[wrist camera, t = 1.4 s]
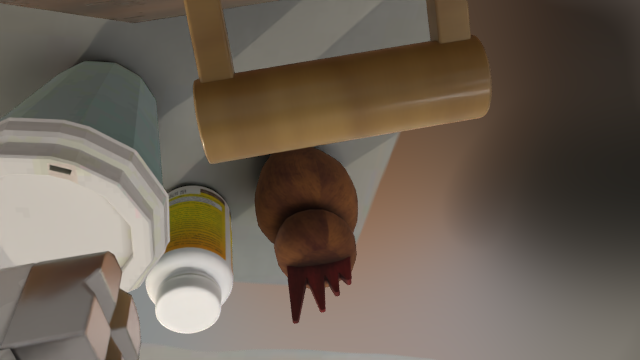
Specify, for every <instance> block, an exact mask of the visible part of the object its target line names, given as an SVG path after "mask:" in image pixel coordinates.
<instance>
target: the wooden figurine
mask: <svg viewBox="0 0 640 360" xmlns="http://www.w3.org/2000/svg"><path fill="white" fill-rule="evenodd" d="M255 210H256V216H257V222H258V226H259V227H260V229H261V231H262V232H263V233H264V234H265V236H266V237H267V238H268V239H269V240H270V241H271V242H272V243H274V249H275V253H276V257H277V261H278V265H279V267H280V268H281V270H282V271H283V272H284V274H285V275H286V276H287V277H288V285H289V293H290V302H291V311H292V319H293V323H294V324H295V323H298V322H299V319H300V314H301V309H302V303H303V299H304V294H305V289H306V288H310V289H311V291H312V294H313V296H314V298H315V301H316V303H317V305H318V307H319V310H320V312H325V287H329V286H330V288H331V290H332V292H333V293H334V295H335V296H339V295H340V291H339V281H340V280H343V281H344V282H345V283H346V284H347V285H350V284H351V278H352V276H351V271H352V269H353V266H354V263H355V260H356V255H357V254H356V244H355V238H354V235H353V232H354V229H355V226H356V223H357V217H358V200H357V194H356V190H355V187H354V185H353V182H352V180H351V179H350V177H349V175H348V173H347V171H346V169H345V168H344V167H343V166H342V165H341V163H340V162H338V161H337V160H336V159H334V158H333V157H331V156H329V155H327V154H326V153H324V152H322V151H321V150H319V149H316V148H313V147H308V148H302V149H296V150H290V151H285V152H279V153H273V154H272V155H271V156H270V157H269V159H268V160H267V162H266V163H265V164H264V166H263V168H262V170H261V173H260V177H259V180H258V184H257V188H256V193H255Z"/></svg>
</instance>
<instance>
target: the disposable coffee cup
mask: <svg viewBox="0 0 640 360" xmlns="http://www.w3.org/2000/svg"><path fill="white" fill-rule="evenodd" d="M169 242H170V224H169V195H168V193H167V192H166V191H165V189H164V188H163V183H162V170H161V157H160V144H159V131H158V118H157V105H156V99H155V98H154V96H153V95H152V93H151V92H150V90H149V89H148V87H147V86H146V84H145V83H144V81H143V80H142V78H141V77H139V76H138V75H137V74H135V73H133V72H131V71H129V70H128V69H126V68H124V67H122V66H121V65H119V64H117V63H111V62H94V61H84V62H81V63H79V64H77V65H75V66H73V67H71V68H69V69H67V70H65V71H63V72H61V73H59V74H58V75H57V76H55V77H54V78H53V79H52V80H50V81H49V82H48V83H46V84H45V85H44V86H43V87H41V88H40V89H39V90H37V91H36V92H35V93H33V94H32V95H31V96H30V97H28V98H27V99H26V100H24V101H23V102H22V103H21V104H19V105H18V106H17V107H15V108H14V109H13V110H11V111H10V112H9V113H8V114H6V115H5V116H4V117H2V118H1V119H0V269H2V268H7V267H13V266H19V265H25V264H30V263H38V262H42V261H48V260H54V259H61V258H67V257H73V256H79V255H86V254H92V253H98V252H105V251H109V252H111V253H112V254H114V255H115V257H116V259H117V261H118V264H119V266H120V268H121V270H122V277H121V283H120V289H122V290H124V291H125V292H129V291H132V290H134V289H136V288H139V287H140V285H141V284H142V283H143V281H144V280H145V278H146V277H147V276H148V274H149V273H150V272H151V270H152V269H153V267H154V266H155V265H156V263H157V262H158V261H159V259H160V258H161V257H162V255H163V254H164V252H165V250H166V247H167V244H168V243H169Z"/></svg>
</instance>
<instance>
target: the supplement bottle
mask: <svg viewBox="0 0 640 360" xmlns="http://www.w3.org/2000/svg"><path fill="white" fill-rule="evenodd" d="M168 195H169V224H170V242H169V243H168V244H167V247H166V250H165V252H164V254H163V255H162V257H161V258H160V259H159V261H158V262H157V263H156V265H155V266H154V267H153V269H152V270H151V272H150V273H149V274H148V276H147V277H146V289H147V293H148V295H149V297H150V298H151V300H152V301H153V303H154V304H155V305H156V306H155V312H156V316H157V319H158V320H159V322H160V323H161V324H162V325H164V327H166V328H168V329H169V330H172V331H175V332H179V333H195V332H199V331H202V330H204V329H207V328H209V327H210V326H211V325H213V324H214V323H215V322H216V320H217V319H218V318H219V315H220V312H221V305H222V304H223V303H224V302H225V301H226V300H227V298H228V297H229V295H230V293H231V290H232V287H233V257H232V230H231V215H230V210H229V207H228V205H227V203H226V201H225V200H224V199H223V198H222V197H221V196H220V195H219V194H218V193H216V192H215V191H213V190H211V189H208V188H206V187H202V186H184V187H180V188H177V189H175V190H173V191H171V192H169V193H168Z"/></svg>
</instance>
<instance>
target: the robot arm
mask: <svg viewBox="0 0 640 360" xmlns="http://www.w3.org/2000/svg"><path fill="white" fill-rule="evenodd" d="M121 277H122V270H121V268H120V266H119V264H118V261H117V259H116V257H115V255H114V254H112V253H111V252H109V251H105V252H98V253H92V254H86V255H79V256H73V257H67V258H61V259H54V260H48V261H42V262H38V263H30V264H25V265H19V266H13V267H7V268H2V269H0V360H139V355H140V347H141V336H140V322H139V317H138V313H137V309H136V306H135V303H134V301H133V298H132V295H130V294H128V293H127V292H125V291H124V290H122V289H120V283H121Z"/></svg>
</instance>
